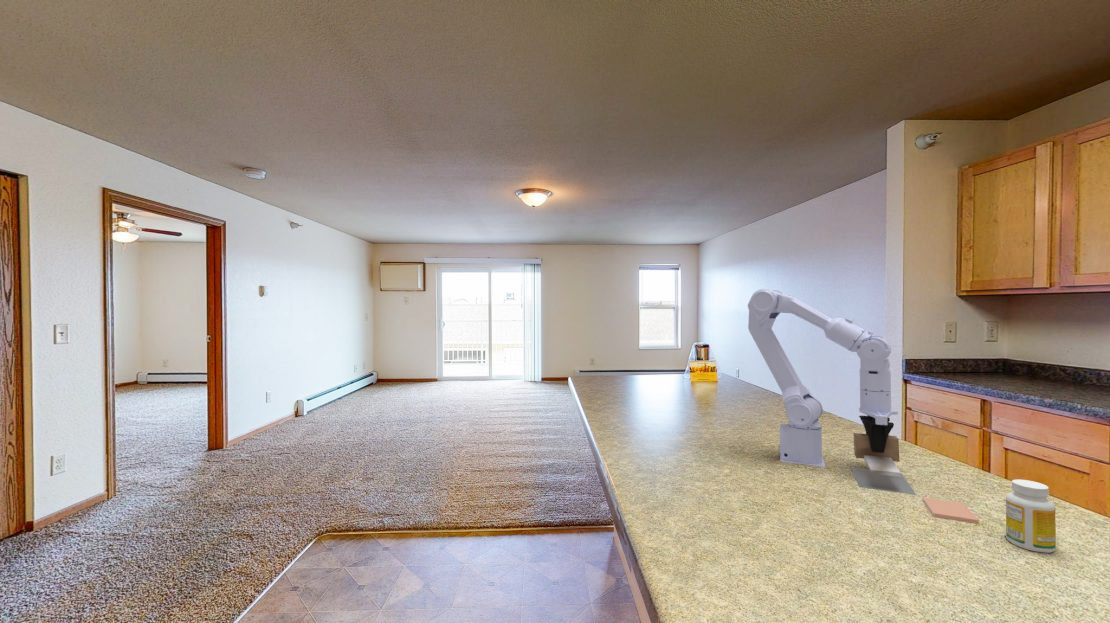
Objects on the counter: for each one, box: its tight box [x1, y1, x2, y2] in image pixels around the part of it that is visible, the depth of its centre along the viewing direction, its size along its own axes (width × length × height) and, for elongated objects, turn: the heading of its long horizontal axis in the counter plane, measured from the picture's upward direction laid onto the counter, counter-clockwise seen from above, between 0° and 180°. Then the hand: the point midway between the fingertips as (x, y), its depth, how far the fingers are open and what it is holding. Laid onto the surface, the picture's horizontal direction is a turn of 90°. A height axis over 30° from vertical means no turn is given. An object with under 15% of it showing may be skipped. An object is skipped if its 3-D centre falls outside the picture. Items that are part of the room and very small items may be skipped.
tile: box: [921, 496, 980, 525], centre depth 81 cm, size 6×2×8 cm
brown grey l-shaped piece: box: [853, 432, 902, 477], centre depth 97 cm, size 8×12×5 cm, turn 153°
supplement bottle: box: [1005, 478, 1057, 554], centre depth 70 cm, size 5×5×10 cm
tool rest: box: [850, 466, 917, 496], centre depth 97 cm, size 10×14×1 cm
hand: (876, 450), depth 101 cm, fingers closed on brown grey l-shaped piece, 2 cm apart
